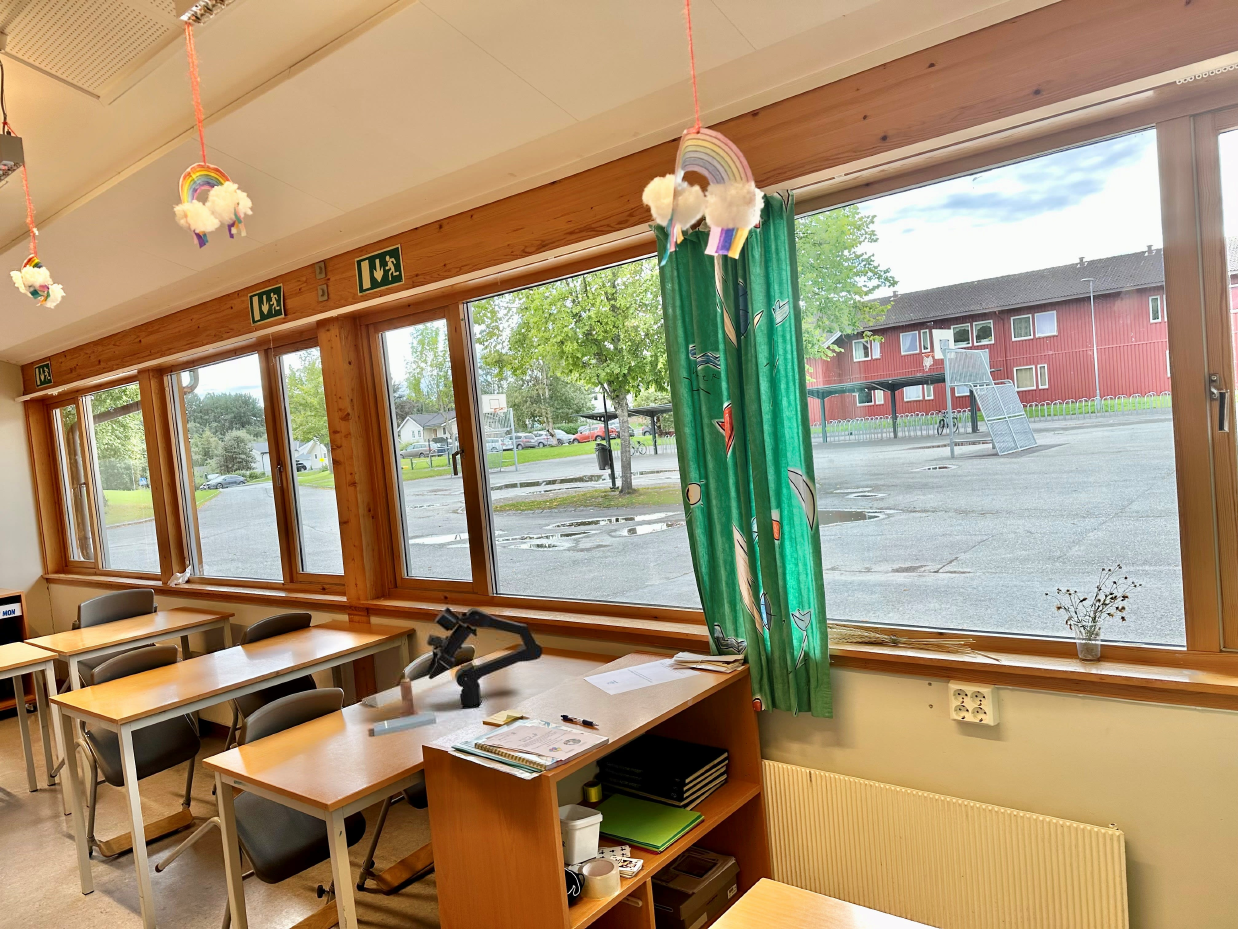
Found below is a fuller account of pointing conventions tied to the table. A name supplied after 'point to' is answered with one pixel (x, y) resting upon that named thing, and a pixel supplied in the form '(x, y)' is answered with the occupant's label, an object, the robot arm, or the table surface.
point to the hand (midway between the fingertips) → (428, 675)
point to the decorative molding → (416, 686)
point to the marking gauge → (407, 698)
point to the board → (404, 723)
